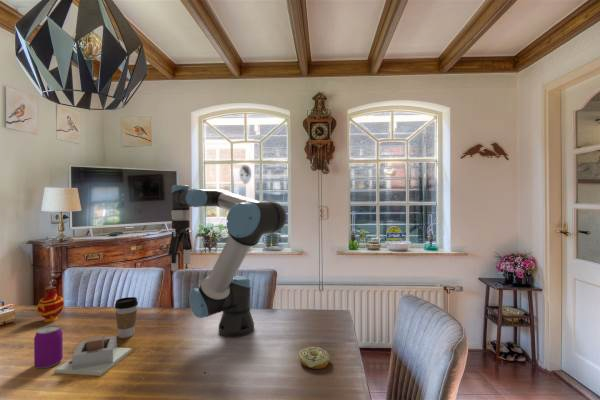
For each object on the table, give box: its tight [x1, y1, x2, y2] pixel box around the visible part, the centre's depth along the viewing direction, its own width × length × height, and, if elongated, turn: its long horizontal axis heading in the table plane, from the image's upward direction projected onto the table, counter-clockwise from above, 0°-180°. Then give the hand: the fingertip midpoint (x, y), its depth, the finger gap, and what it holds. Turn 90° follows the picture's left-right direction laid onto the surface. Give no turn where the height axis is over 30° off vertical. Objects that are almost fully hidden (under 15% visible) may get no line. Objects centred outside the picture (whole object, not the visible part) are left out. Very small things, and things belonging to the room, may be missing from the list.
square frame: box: [71, 335, 118, 370], centre depth 110 cm, size 12×12×4 cm
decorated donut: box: [298, 346, 331, 370], centre depth 111 cm, size 10×11×4 cm
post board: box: [54, 334, 133, 377], centre depth 110 cm, size 16×16×8 cm
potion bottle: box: [36, 285, 65, 323], centre depth 147 cm, size 10×10×15 cm
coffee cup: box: [114, 296, 138, 339], centre depth 131 cm, size 8×8×15 cm
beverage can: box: [33, 324, 64, 369], centre depth 109 cm, size 8×8×12 cm
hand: (181, 267), depth 141 cm, fingers open, 13 cm apart
